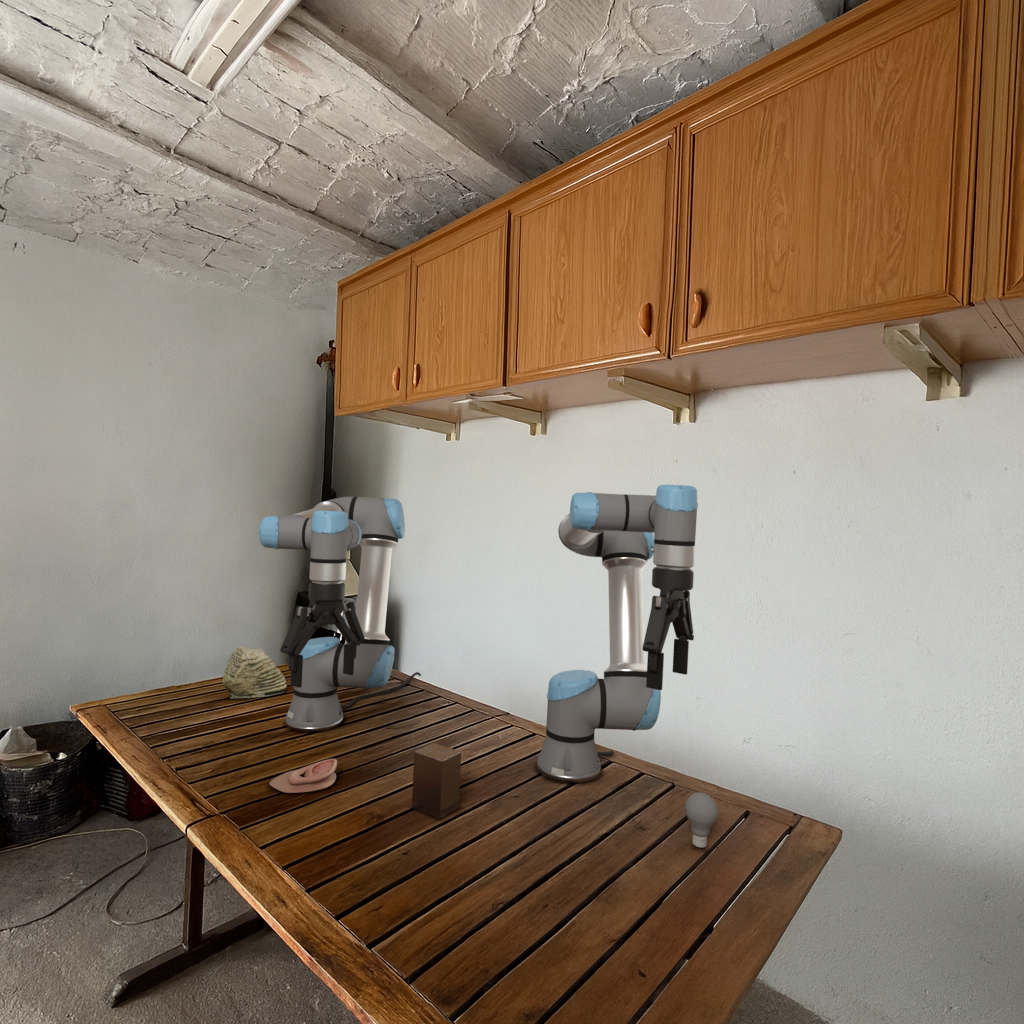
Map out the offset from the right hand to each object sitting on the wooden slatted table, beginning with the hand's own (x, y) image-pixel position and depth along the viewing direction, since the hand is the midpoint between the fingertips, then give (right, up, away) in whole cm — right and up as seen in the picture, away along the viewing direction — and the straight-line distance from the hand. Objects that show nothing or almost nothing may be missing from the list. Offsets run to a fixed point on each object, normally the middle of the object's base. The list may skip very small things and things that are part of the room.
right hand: (667, 680), depth 119 cm
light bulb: (+7, -32, +2) cm, 33 cm away
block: (-45, -30, +12) cm, 55 cm away
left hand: (-70, -5, +18) cm, 72 cm away
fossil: (-110, -26, +79) cm, 138 cm away
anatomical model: (-75, -28, +21) cm, 83 cm away
